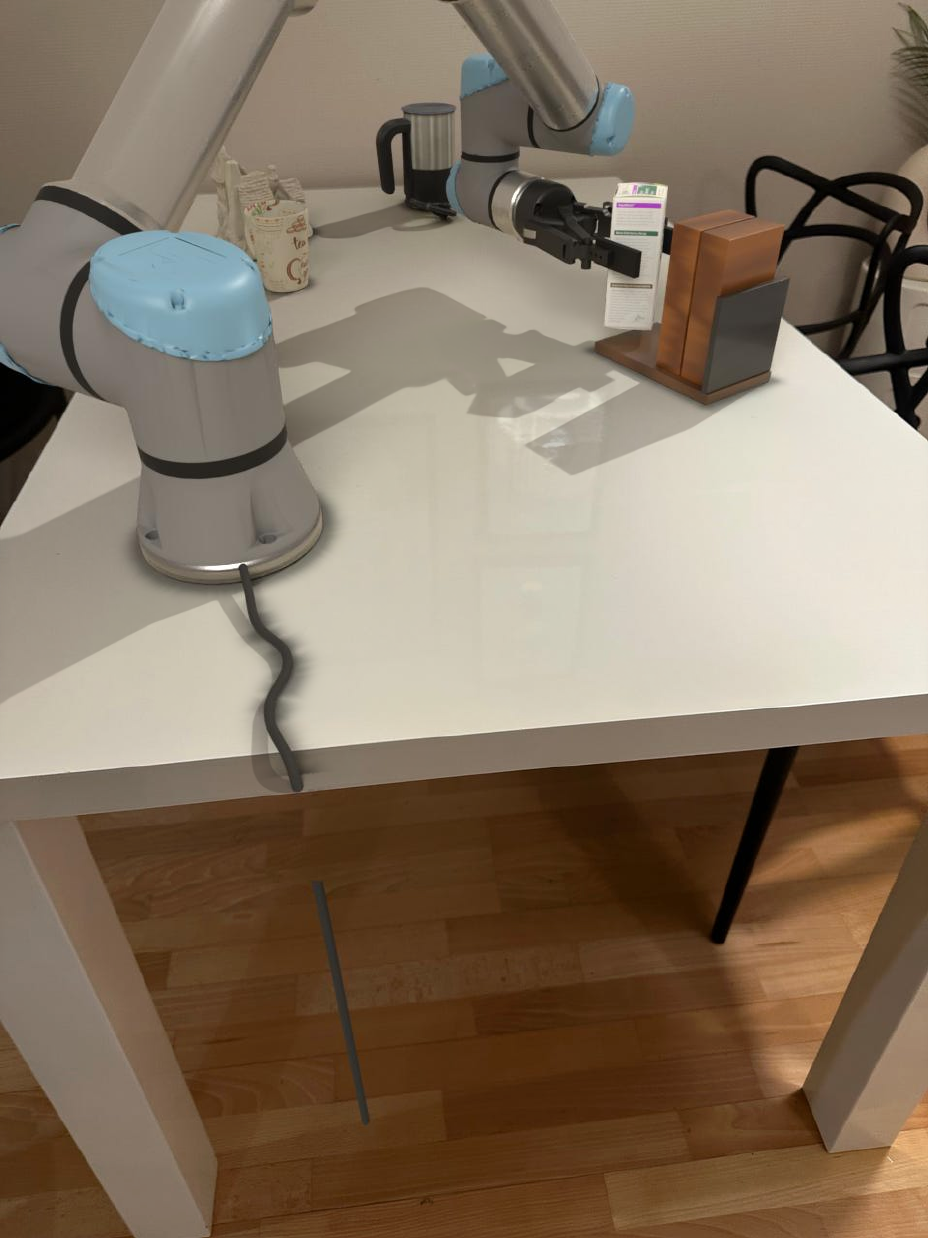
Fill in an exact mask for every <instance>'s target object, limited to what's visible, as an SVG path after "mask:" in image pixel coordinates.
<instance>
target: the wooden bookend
mask: <svg viewBox="0 0 928 1238" xmlns="http://www.w3.org/2000/svg"><path fill="white" fill-rule="evenodd" d="M785 227H786V225H785V224H782V223H780V222H775V221H772V220H770V219H769V220H768V219H765V218H762V217H758V216H755V215H752V214H748V213H744V212H741V211H739V210H735V209H731V208H727V209H722V210H719V211H716V212H711V213H707V214H704V215H703V214H702V215H700V216H695V217H692V218H688V219H684V220H679V221H676V222H673V227H672V228H673V236H672V244H671V252H670V255H669V259H668V268H667V274H666V284H665V290H664V299H663V307H662V314H661V322H658V321H656V322H653V326H652V330H634V329H629V330H628V331H624V332H621V333H618V334H614V335H611V336H609V337H606V338H602V339H599V340H596V341H595V342H594V352H596V353H598V354H599V355H602V356H604V357H606V358H608V359H609V360H612V361H614V362H616V363H618V364H621V365H622V366H624V367H626V368H629V369H630V370H633V371H635V372H637V373H638V374H641V375H642V376H645V377H646V378H649V379H651V380H653V381H655V382H658V383H660V384H662V386H663V385H664V386H665V387H668V388H669V389H671V390H674V391H676V392H678V393H680V394H682V395H684V396H686V397H688V398H691V399H692V400H694V401H697V402H699V403H700V404H702V405H705V406H708V405H711V404H713V403H716V402H718V401H721V400H723V399H724V400H725V399H726V398H728V397H729V398H730V397H731V396H734V395H737V394H739V393H742V392H744V391H748V390H749V389H753V388H755V387H757V386H758V387H759V386H761V385H763V384H765V383H766V384H767V383H769V382H770V381H771V376H772V370H771V369H772V365H773V361H774V355H775V350H776V345H777V342H778V336H779V332H780V327H781V323H782V318H783V313H784V308H785V304H786V300H787V299H786V298H787V295H788V290H789V287H790V286H789V285H790V281H791V277H789V276H787V275H781V276H778V277H775V276H776V272H777V271H776V270H777V267H778V262H779V256H780V251H781V246H782V242H783V236H784V232H785Z"/></svg>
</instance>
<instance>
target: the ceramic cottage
mask: <svg viewBox="0 0 928 1238" xmlns="http://www.w3.org/2000/svg"><path fill="white" fill-rule="evenodd" d="M215 160H216V165H215V167H214V169H213V170H212V171H211V176H210V177H211V181H212V182H213V183H214V185H215V190H216V195H217V203H216V205H217V211H216V214H217V221H218V223H219V226H218V227H217V228H218V229H217V231H216V233H214V237H216V238H220V239H222V240H225V241H227V242H229V243H232V244H233V245H235V246H237V247H238V248H240V249H241V250H243V251H244V252H245V253H246V254H247V255H248V256H249V257H250V258H251V259H252V260H253V261H254V260H255V261H257V259H256V258H255V257H254V255H253V254H252V253H251V251H250V249H249V247H248V245H247V242H246V238H245V222H246V220H245V216H244V210H245V209H246V208H247V207H248V206H250V205H253V204H256V203H260V202H266V201H275V200H289V201H297V202H301V203H304V204H305V205H306V206H307V203H306V200H307V198H306V195H305V192H304V189H303V188H302V185H301V183H300V181H299V179H298V178H297V177H291V178H288V179H279V175H278V172H277V167H276V165H274V164H270V165H268V166H267V175H266V173H265V172H264V171H262V172H260V171H259V170H258V171H257V170H255V171H251V172H248V170H247V168H246V167H244V166H242V165H241V164H240V162H238V161H237V160H236V159H235V158H234V157H233V156H231V155H228V154H227V151H226V147H225V146H224V144H223V145H222V147H221V149H220V151H219V153H218V155H217V157H216V159H215ZM313 234H314V230H313V227H312V226H311V224H310V223H308V238H310V237H312V236H313Z"/></svg>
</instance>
